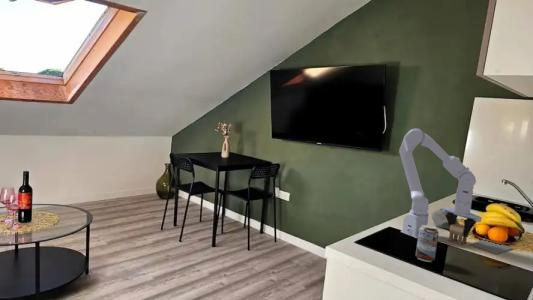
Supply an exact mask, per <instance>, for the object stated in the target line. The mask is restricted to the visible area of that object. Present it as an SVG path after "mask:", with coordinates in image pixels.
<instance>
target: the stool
mask: <svg viewBox="0 0 533 300" xmlns="http://www.w3.org/2000/svg"><path fill="white" fill-rule="evenodd" d="M448 230H449V229H448ZM448 232H449V237H448V241H449V242H453V240H454V241H457V245H462V244H467V239H468V237H463V233H464V224H460V223H459V224H453V225H450V230H449V231H448Z"/></svg>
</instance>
